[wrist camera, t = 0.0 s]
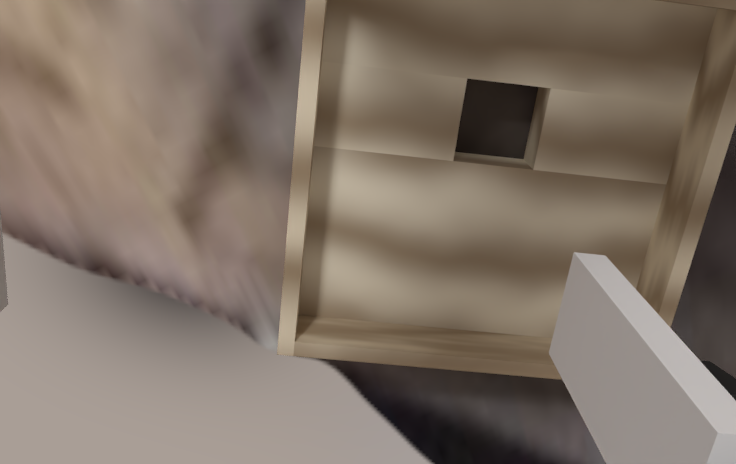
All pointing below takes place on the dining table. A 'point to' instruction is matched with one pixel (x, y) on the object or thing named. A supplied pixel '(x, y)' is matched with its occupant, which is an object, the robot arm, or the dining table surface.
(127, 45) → the dining table surface
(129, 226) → the dining table surface
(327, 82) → the box
